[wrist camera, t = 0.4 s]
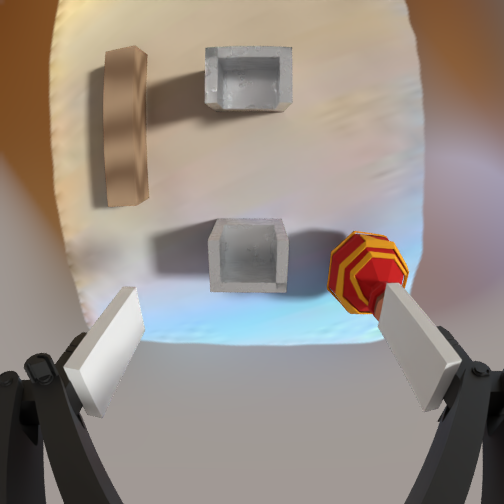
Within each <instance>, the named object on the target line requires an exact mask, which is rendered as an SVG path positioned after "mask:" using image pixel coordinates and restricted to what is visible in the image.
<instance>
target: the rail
mask: <svg viewBox="0 0 504 504" xmlns="http://www.w3.org/2000/svg"><path fill="white" fill-rule="evenodd" d="M146 78H147V54H146V53H144V52H143V51H142V50H140V49H139V48H138V47H136V46H130V47H125V48H121V49H116V50H112V51H108V52H106V54H105V69H104V94H103V134H104V160H105V176H106V189H107V200H108V207H115V206H136V205H138V204H140V203H142V202H143V201H145V200H147V199H148V198H149V189H148V171H147V145H146Z"/></svg>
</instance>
